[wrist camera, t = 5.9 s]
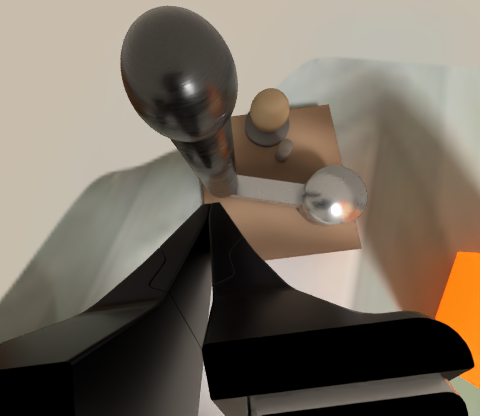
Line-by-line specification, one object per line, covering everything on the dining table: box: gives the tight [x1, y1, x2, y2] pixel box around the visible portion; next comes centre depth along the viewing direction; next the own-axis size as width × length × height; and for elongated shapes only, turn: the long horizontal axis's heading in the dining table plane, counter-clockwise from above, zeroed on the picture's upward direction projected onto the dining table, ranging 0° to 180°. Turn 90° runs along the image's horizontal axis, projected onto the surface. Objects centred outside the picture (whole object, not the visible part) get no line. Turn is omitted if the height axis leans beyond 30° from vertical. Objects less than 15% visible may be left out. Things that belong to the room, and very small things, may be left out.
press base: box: [202, 88, 361, 260], centre depth 14 cm, size 13×12×5 cm
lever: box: [121, 6, 367, 226], centre depth 9 cm, size 4×12×12 cm, turn 81°
